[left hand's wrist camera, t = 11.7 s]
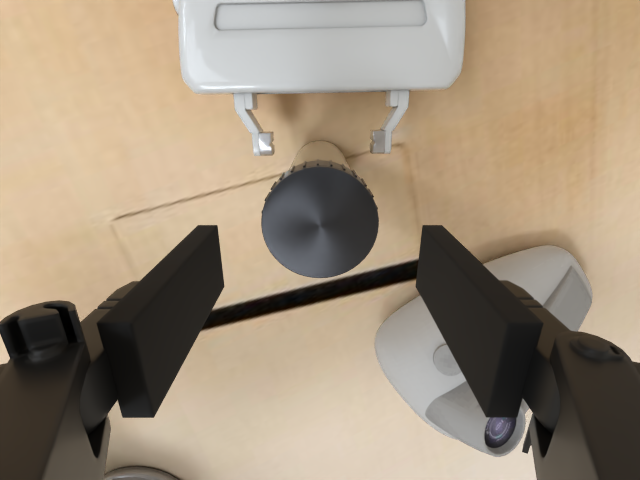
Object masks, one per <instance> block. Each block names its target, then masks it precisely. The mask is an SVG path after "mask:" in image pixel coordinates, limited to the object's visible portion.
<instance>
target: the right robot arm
mask: <svg viewBox="0 0 640 480" xmlns="http://www.w3.org/2000/svg"><path fill="white" fill-rule="evenodd" d="M173 5H174V8H175V11H176V13H177V14H178V16H179V17H178V31H179V54H180V66H181V74H182V78H183V80H184V82H185V83H186V84H187V86H188V87H189V88H190V89H191V90H192V91H193V92H194V93H196V94H200V95H234V104H235V111H236V112H237V114H238V115H239V117H240V118H241V120H242V121H243V123H244V124H245V126H246V127H247V129H248V130H249V132H250V133H252V141H253V152H254V156H271V155H273V154H274V145H273V143H272V142H273V140H274V135H273V132H263V129H262V128H261V126H260V125H259V123H258V121H257V120H256V118H255V116H254V115H253V113H252V111H251V109H257V108H258V104H257V94H290V93H341V92H386V101H385V106H386V107H392V109H391V111H390V112H389V114H388V116H387V118H386V120H385V121H384V123H383V125H382V127H381V128H380V130H370V139H371V140H372V141H371V143H370V152H371V153H372V154H389V153H390V152H391V142H392V130H394V129H395V128H396V126H397V124H398V123H399V121H400V119H401V118H402V116H403V115H404V113H405V111H406V110H407V108H408V104H409V91H436V90H444V89H448V88H449V87H450V86H451V85H452V84H453V83H454V82H455V81H456V79H457V78H458V77H459V75H460V73H461V70H462V64H463V57H464V45H465V22H466V10H465V0H173Z"/></svg>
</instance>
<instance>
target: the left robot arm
mask: <svg viewBox="0 0 640 480" xmlns="http://www.w3.org/2000/svg"><path fill="white" fill-rule="evenodd" d="M223 288H224V280H223V271H222V262H221V253H220V245H219V236H218V227H217V225H198V226H197V227H196V228H195V229H194V230H193V231H192V232H191V233H190V234H189V235H188V236H186V237H185V238H184V239H183V240H182V241H181V242H180V243H179V244H178V245H177V246H176V247H175V248H174V249H173V250H172V251H171V252H170V253H169V254H168V255H167V256H166V257H165V258H164V259H162V260H161V261H160V262H159V263H158V264H157V265H156V266H155V267H154V268H153V269H152V270H151V271H150V272H149V273H148V274H147V275H146V276H145V277H144V278H143V279H142V280H141V281H133V282H131V283H129V284H127V285H125V286H123V287H121V288H119V289H117V290H116V291H115V292H114V293H113V294H112V295H111V296H109V297H108V298H107V300H106V301H104V302H103V303H102V304H100V305H99V306H98V309H95V310H94V311H93V312H91V313H90V314H89V315H88V316H87V317H86V318H85V319H84V320H83V321H81V322H80V321H79V317H78V314H77V310H76V307H75V305H74V304H73V303H71V302H69V301H49V302H43V303H39V304H35V305H31V306H29V307H26V308H23V309H21V310H18V311H16V312H14V313H12V314H11V315H9V316H7V317H5V318H4V319H3V320H2V321H1V322H0V334H1V337H2V339H3V342H4V344H5V347H6V349H7V351H8V354H9V356H10V360H9V361H8V363H6V364H1V365H0V480H178V479H177V478H175V477H173V476H172V475H170V474H167V473H165V472H163V471H160V470H156V469H152V468H147V467H125V468H120V469H116V470H113V471H111V472H109V473H107V474H106V475H104V472H105V465H106V458H107V451H108V444H109V438H110V431H111V427H110V421H109V417H108V413H109V411H110V410H111V408H112V407H113V405H114V404H115V403H116V401H117V400H118V402H119V406H120V410H121V413H122V417H123V418H154V416H155V414H156V412H157V411H158V409H159V407H160V405H161V403H162V401H163V399H164V398H165V396H166V394H167V392H168V390H169V388H170V386H171V385H172V383H173V381H174V379H175V377H176V375H177V373H178V372H179V370H180V368H181V366H182V364H183V362H184V360H185V359H186V357H187V355H188V353H189V351H190V349H191V347H192V346H193V344H194V342H195V340H196V338H197V336H198V334H199V333H200V331H201V329H202V327H203V325H204V323H205V321H206V320H207V318H208V316H209V314H210V312H211V310H212V308H213V307H214V305H215V303H216V301H217V299H218V297H219V295H220V293H221V292H222V290H223ZM416 288H417V290H418V292H419V293H420V295H421V297H422V299H423V301H424V303H425V305H426V307H427V308H428V310H429V312H430V314H431V316H432V318H433V320H434V321H435V323H436V325H437V327H438V329H439V331H440V333H441V334H442V336H443V338H444V340H445V342H446V344H447V346H448V347H449V349H450V351H451V353H452V355H453V357H454V359H455V360H456V362H457V364H458V366H459V368H460V370H461V372H462V373H463V375H464V377H465V379H466V381H467V383H468V385H469V386H470V388H471V390H472V392H473V394H474V396H475V398H476V399H477V401H478V403H479V405H480V407H481V409H482V411H483V413H484V414H485V416H486V418H517V417H518V413H519V410H520V406H521V402H522V399H524V401H525V402H526V404H527V405H528V406H529V408H530V409H531V411H532V412H533V414H532V417H531V421H530V424H529V428H528V431H527V434H526V438H525V441H524V444H523V450H522V452H524V453H527V454H528V451H529V447H530V446H531V445H532V450H533V457H534V464H535V470H536V477H537V480H640V363H637V362H632V361H631V359H630V357H629V356H628V355H627V354H626V353H625V352H624V351H623V350H622V349H621V348H619V347H617V346H616V345H614V344H613V343H611V342H609V341H607V340H605V339H603V338H600V337H598V336H595V335H591V334H588V333H584V332H577V331H571V330H570V329H568V328H567V327H566V326H565V325H564V324H563V323H562V322H561V321H559V320H558V319H557V318H556V317H555V316H554V315H553V314H552V313H550V312H549V311H548V310H547V309H546V308H543V306H542V305H541V304H540V303H539V302H538V301H537V300H534V298H533V297H532V296H531V295H530V294H529V293H528V292H527V291H526V290H524V289H523V288H521V287H520V286H518V285H516V284H514V283H512V282H510V281H508V280H498V279H497V278H496V277H495V276H494V275H493V274H492V273H491V272H490V271H489V270H488V269H487V268H486V267H485V266H484V265H483V264H482V263H481V262H480V261H479V260H478V259H476V258H475V257H474V256H473V255H472V254H471V253H470V252H469V251H468V250H467V249H466V248H465V247H464V246H463V245H462V244H461V243H460V242H459V241H458V240H457V239H456V238H455V237H454V236H452V235H451V234H450V233H449V232H448V231H447V230H446V229H445V228H444V227H443V226H442V225H423V227H422V236H421V245H420V253H419V262H418V271H417V280H416Z"/></svg>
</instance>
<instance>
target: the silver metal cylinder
mask: <svg viewBox="0 0 640 480" xmlns="http://www.w3.org/2000/svg"><path fill="white" fill-rule="evenodd" d="M317 159H319V160H323V161H330V160H332V162H335V163H338V164H341V165H342V164H344V166H345V167H347V168H349V169H350V167H349V165H348V163H347V161H346V159H345V157H344V155H343V153H342V152H341V151H340V149H339V148H338V147H337V146H335V145H334V144H332V143H330V142H327V141H313V142H310V143H308V144H306V145H305V146H303V147H302V148H301V149H300V151H299V152H298V153H297V155H296V157H295V159H294V161H293V163H292V165H291V167H290V169H291V168H292V166H297V165H299V164H302V163H304V161H306V162H309V161H317ZM290 169H289V170H290ZM350 170H351V169H350Z"/></svg>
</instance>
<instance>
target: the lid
mask: <svg viewBox="0 0 640 480" xmlns="http://www.w3.org/2000/svg"><path fill="white" fill-rule="evenodd" d="M366 186H367V185H366V183H365V182H364V180H363V179H360V178H359V176H358V175H356V173H355V171H354V170H350V169H349V168H347V167H345V166H344V164H342V165H341V164H338V163H335V162H332V160H330V161H323V160H319V159H317V161H309V162H306V161H304V163H302V164H299V165H297V166H292V168H291V169H290V170H288V171H287V172H286V173H282V175H281V177H280V179H279V180H278V181H277V182H276V181H275V183H274V184H273V186H272V188H271V190H272V191H271V192H269V194H268V195H267V197H266V199H265V201H266V202H265V204H264V208H263V210H262V222H261V226H262V233H263V237H264V240H265V242H266V245H267V247H268V249H269V250H270V252H271V253H272V255H273V256H274V257H275V258H276V259H277V260H278V261H279V262H280V263H281V264H282V265H283V266H285V267H286V268H287V269H289V270H291V271H293V272H295V273H297V274H300V275H303V276H307V277H312V278H328V277H333V276H337V275H340V274H343V273H345V272H347V271H349V270H351V269H353V268H354V267H355V266H357V265H358V264H359V263H360V262H361V261H362V260H363V259H365V257H366V256H367V255H368V253H369V252H370V250H371V249H372V247H373V245H374V243H375V240H376V237H377V233H378V226H379V218H378V211H377V209H378V208H377V206H376V204H375V202H374V200H373V197H374V196H373V194H372V193H371V191H370V190H369V189H367V187H366Z"/></svg>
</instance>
